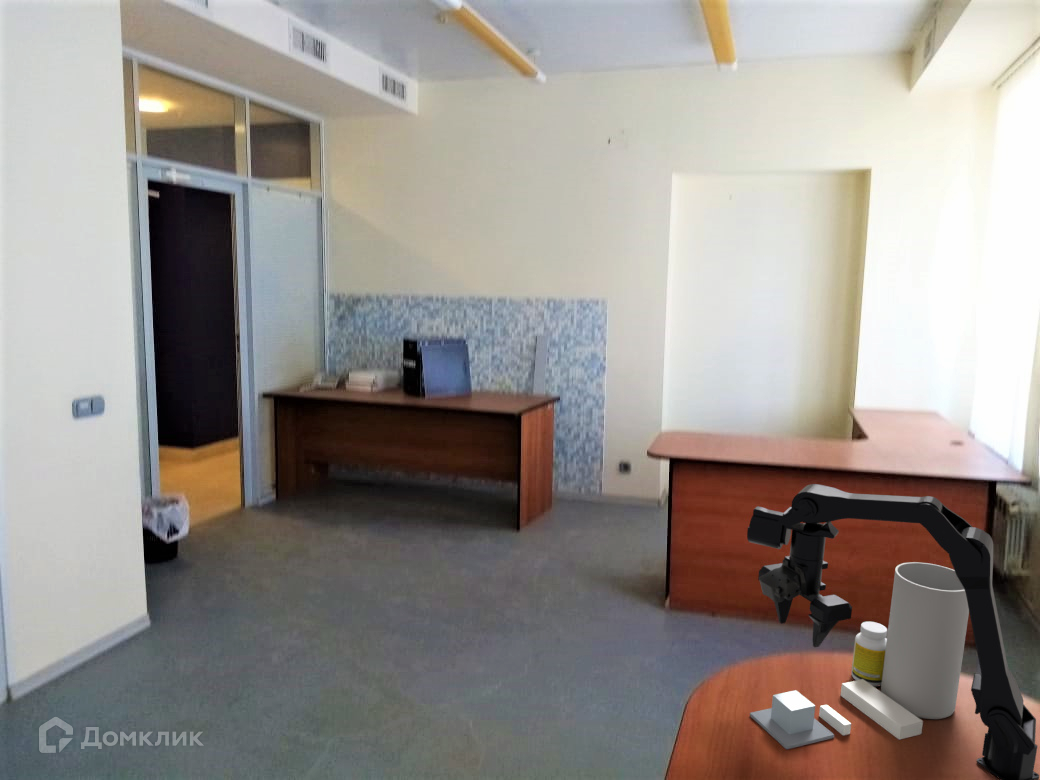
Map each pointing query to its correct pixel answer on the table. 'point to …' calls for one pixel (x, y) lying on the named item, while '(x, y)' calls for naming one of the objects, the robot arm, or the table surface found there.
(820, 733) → the mat
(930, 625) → the cylinder vase
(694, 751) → the table surface
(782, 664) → the table surface
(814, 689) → the table surface
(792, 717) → the pale blue cube
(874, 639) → the pill bottle
